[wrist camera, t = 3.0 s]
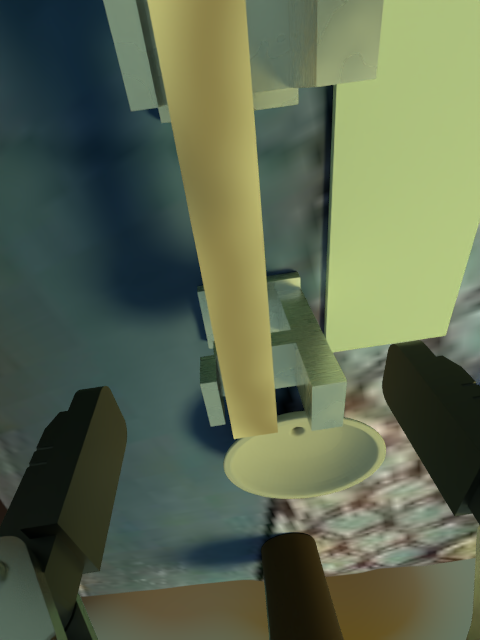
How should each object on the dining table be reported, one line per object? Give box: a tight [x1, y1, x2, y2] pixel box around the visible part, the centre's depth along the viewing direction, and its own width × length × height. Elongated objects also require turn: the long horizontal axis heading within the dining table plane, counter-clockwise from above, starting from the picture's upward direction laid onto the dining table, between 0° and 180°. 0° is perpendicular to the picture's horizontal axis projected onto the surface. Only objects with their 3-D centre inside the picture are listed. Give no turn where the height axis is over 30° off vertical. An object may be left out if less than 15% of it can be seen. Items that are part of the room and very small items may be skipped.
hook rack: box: [103, 0, 384, 431], centre depth 20 cm, size 8×24×12 cm, turn 7°
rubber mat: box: [324, 0, 480, 352], centre depth 25 cm, size 12×30×1 cm, turn 7°
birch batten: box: [147, 0, 278, 439], centre depth 17 cm, size 3×24×3 cm, turn 7°
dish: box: [223, 411, 386, 499], centre depth 38 cm, size 18×14×5 cm
